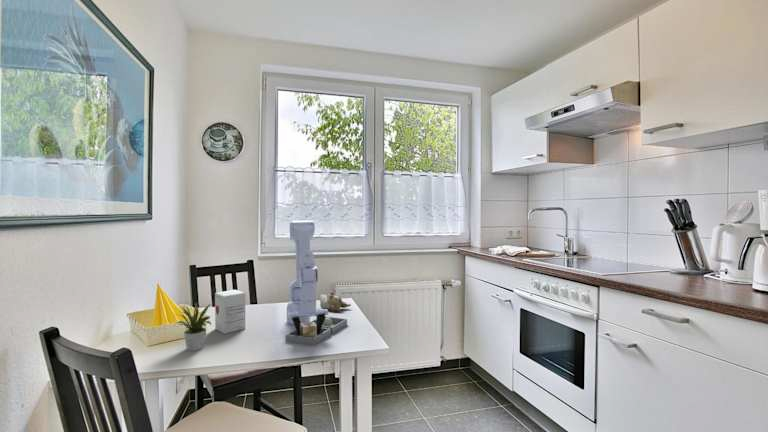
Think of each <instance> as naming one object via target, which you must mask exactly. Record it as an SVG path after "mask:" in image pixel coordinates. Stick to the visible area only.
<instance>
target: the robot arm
mask: <svg viewBox="0 0 768 432" xmlns="http://www.w3.org/2000/svg"><path fill="white" fill-rule="evenodd" d="M315 228H316V226H315V222H314V220H290V222H289V238H290V240H291V241H294V244H295V279H294V280H293V281H291V282H290V284H289V292H288V293H289V295H288V296H289V302H288V304H287V306H286V321H285V323H286V324H292V325H294V327H295V330H296V331H297V336H300V327H301V324H302V323H309V322H311V321H313V320H314V319H312V318H311V317H316V318H315V319H317V335H319V334H320V331H321V327H322V325H323V322H324V321H325V316H328V315H329V309H327V308H326V309H321V308H317V283H318V280H319V272H318V267H317V265H316V264H315V263H316V262H315V255H314V252H312V251H311V240H312V238H313V237H314V234H315Z"/></svg>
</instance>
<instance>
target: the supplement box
mask: <svg viewBox="0 0 768 432" xmlns="http://www.w3.org/2000/svg"><path fill="white" fill-rule="evenodd" d="M214 309H215V310H214V312H215V313H214V314H215V315H214V319H215V320H214V321H215V322H214V323H215V324H214V325H215V327H214V328H215V330H217V331H219V332H221V333H223V334H230V333H234V332H237V331H242V330H245V329H246V292H243V291H241V290H238V289H230V290H225V291H224V290H223V291H218V292H214Z"/></svg>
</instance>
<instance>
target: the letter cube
mask: <svg viewBox="0 0 768 432" xmlns="http://www.w3.org/2000/svg"><path fill="white" fill-rule="evenodd" d="M300 327H301V336H302V337H309V338H314V337H316V336H317V326H316V324H315V323H314V322H310V323H302V324H301V325H300Z"/></svg>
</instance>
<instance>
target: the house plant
mask: <svg viewBox="0 0 768 432" xmlns="http://www.w3.org/2000/svg"><path fill="white" fill-rule="evenodd" d="M198 301H199V300H198ZM198 301H197V302H196V303H195V306H194V308H193V315H191V311H190V309H189V308H188V306H185V305H184V306H183V307H182V306H181V309H182V310H183V311H180V310H179V314H180V313H181V314H180V317H183V319H184V320H185V321H182V320H180V321H179V320H178V321H177V322H176V324H179V326H182V325H184V326H185V328H186V329H185V330H184V331H183V334H184V335H183V336H184V340H185V345H186V350H187V351H188V350H189V351H188V352H194V351H195V352H196V351H199V350H202V349H204V347H205V341H206V334H207V327H206V326H207V325H206V323H207V324H208V325H210V326H212V322H211V321H208V320H209V319H211V315H209V316H204V315H205V314H206V313H207V312H208V311H209V307H210V306H211V305H212V303H210V304H208V305H206V306H205V307H204V309H203V310H202V311H200V312H199V310H200V308H199V307H198V305H197V304H198ZM203 306H204V303H203V304H202V305H201V307H203ZM184 307H185V308H184ZM175 310H177V311H178V308H175ZM199 313H200V314H199ZM186 316H187V317H186ZM203 326H204V327H203Z"/></svg>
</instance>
